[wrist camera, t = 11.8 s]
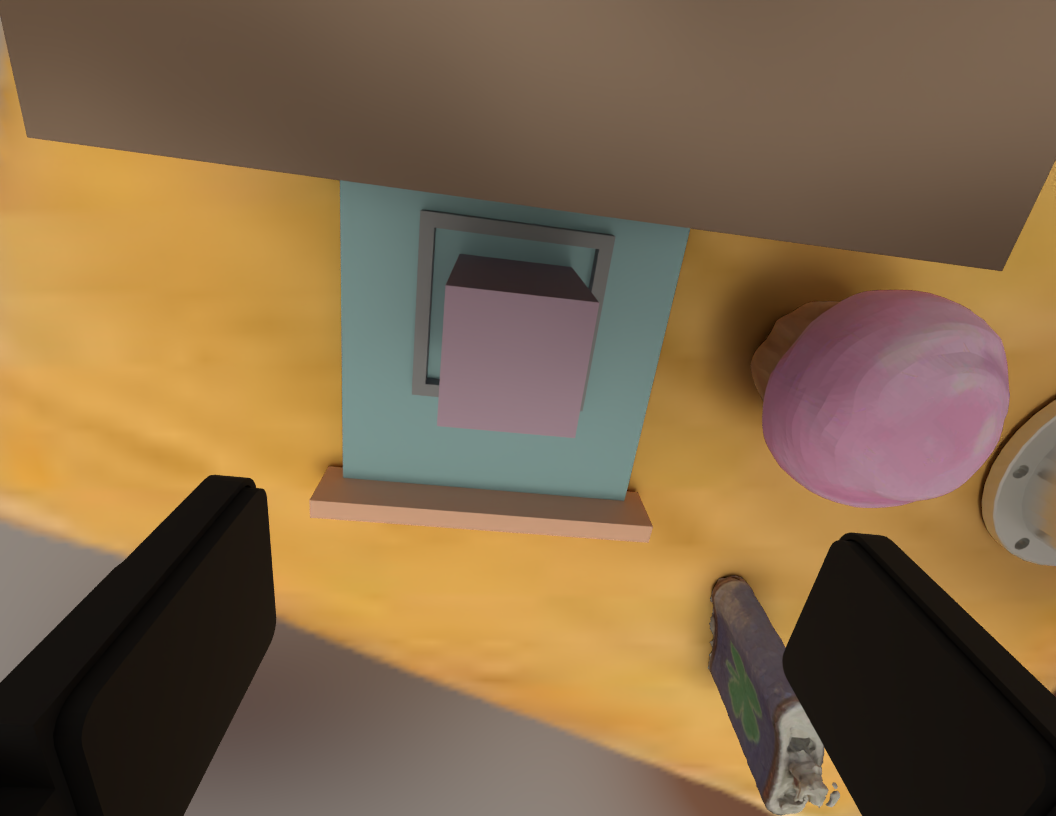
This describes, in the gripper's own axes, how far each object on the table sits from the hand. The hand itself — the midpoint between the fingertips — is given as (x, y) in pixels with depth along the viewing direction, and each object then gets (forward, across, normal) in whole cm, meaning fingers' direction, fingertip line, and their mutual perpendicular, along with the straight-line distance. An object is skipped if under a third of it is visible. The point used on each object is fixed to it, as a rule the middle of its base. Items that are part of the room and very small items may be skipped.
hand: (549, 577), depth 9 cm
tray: (+18, +1, +1) cm, 18 cm away
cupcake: (+19, -14, 0) cm, 24 cm away
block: (+17, +1, 0) cm, 17 cm away
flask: (+19, -16, +19) cm, 32 cm away
